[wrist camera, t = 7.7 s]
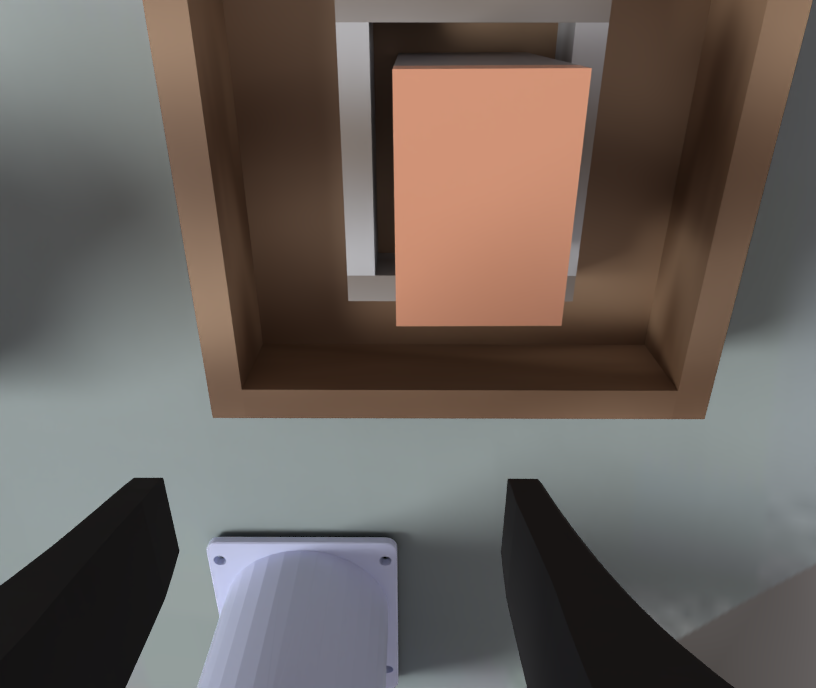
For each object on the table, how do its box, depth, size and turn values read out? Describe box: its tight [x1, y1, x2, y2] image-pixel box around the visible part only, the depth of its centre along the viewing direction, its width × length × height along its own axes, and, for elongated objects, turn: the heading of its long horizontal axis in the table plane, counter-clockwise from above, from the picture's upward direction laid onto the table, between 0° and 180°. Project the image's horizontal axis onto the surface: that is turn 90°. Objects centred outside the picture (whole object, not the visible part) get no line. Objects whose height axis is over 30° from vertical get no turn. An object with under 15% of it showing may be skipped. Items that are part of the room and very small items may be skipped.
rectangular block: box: [392, 52, 592, 326], centre depth 15 cm, size 5×4×7 cm
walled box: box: [143, 0, 813, 419], centre depth 17 cm, size 15×15×4 cm
